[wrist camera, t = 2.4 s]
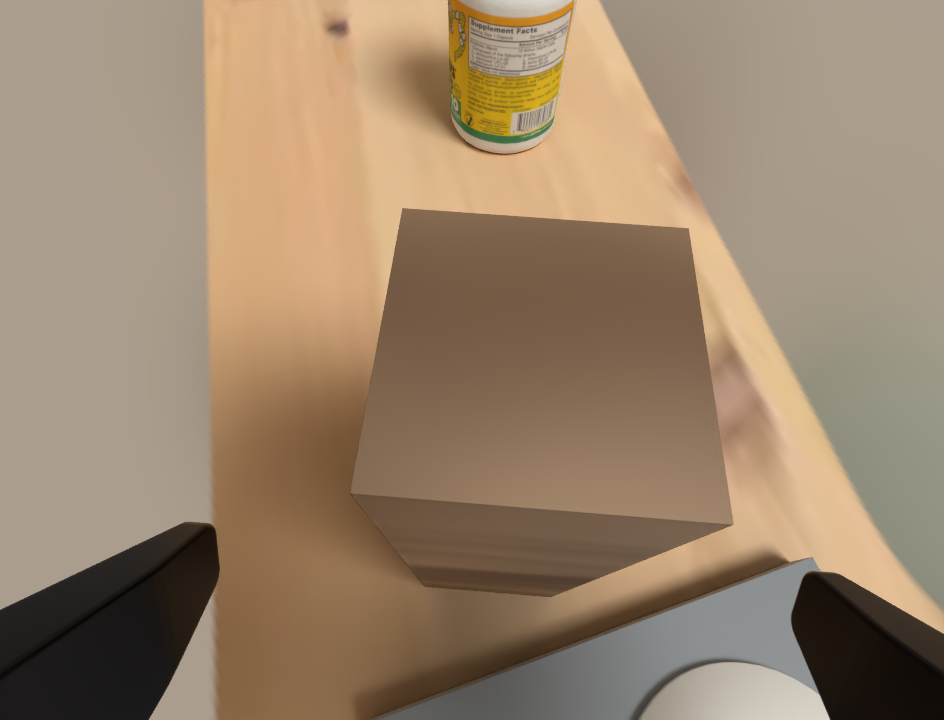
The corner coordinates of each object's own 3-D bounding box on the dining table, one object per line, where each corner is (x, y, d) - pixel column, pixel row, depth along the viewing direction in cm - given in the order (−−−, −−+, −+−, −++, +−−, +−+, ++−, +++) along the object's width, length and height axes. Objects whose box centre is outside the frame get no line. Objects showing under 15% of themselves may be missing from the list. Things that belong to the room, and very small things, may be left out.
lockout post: (550, 597, 16) (734, 524, 5) (424, 586, 17) (350, 493, 5) (551, 472, 18) (688, 229, 7) (438, 463, 18) (402, 208, 7)
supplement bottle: (540, 167, 25) (580, -68, 17) (436, 144, 26) (423, -95, 17) (564, 98, 28) (609, -138, 19) (467, 78, 28) (470, -159, 20)
